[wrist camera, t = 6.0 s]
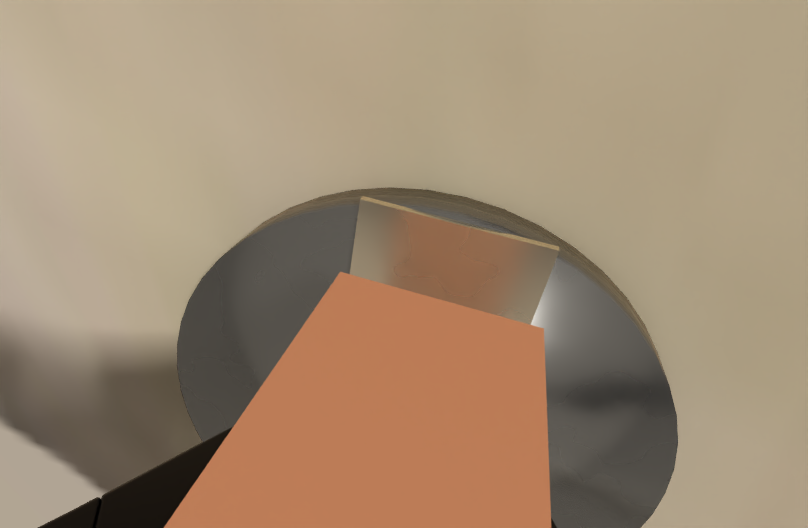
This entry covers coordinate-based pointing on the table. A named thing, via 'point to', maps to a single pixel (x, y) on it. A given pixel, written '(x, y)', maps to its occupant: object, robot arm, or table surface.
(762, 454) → the table surface
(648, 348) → the metal plate with post
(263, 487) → the link block
